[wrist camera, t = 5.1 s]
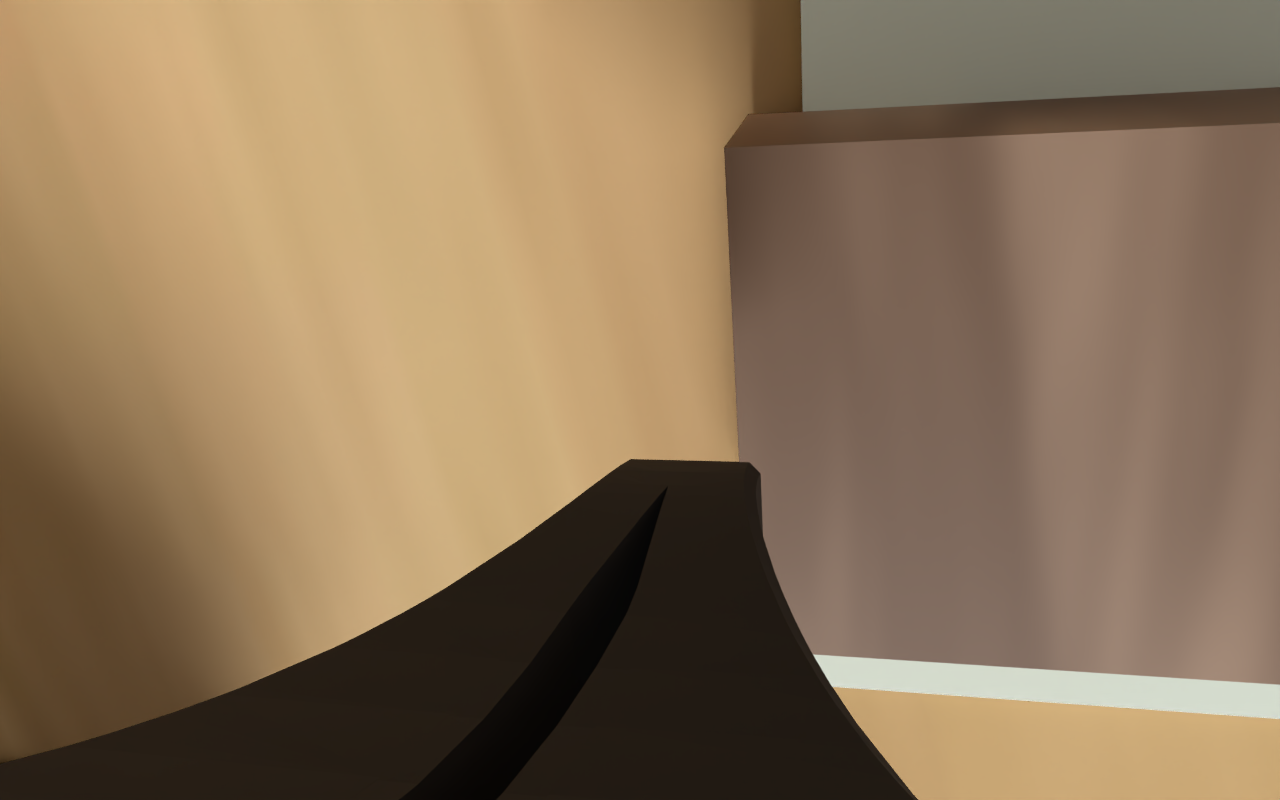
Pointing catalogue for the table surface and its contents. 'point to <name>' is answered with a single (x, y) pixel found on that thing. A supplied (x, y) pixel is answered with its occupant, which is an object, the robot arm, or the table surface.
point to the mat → (1032, 70)
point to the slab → (1018, 378)
